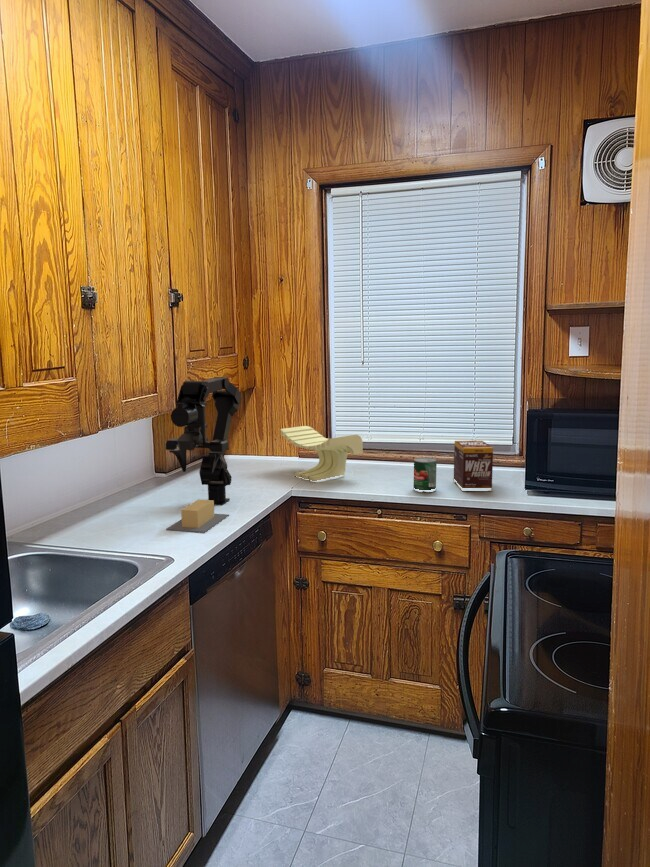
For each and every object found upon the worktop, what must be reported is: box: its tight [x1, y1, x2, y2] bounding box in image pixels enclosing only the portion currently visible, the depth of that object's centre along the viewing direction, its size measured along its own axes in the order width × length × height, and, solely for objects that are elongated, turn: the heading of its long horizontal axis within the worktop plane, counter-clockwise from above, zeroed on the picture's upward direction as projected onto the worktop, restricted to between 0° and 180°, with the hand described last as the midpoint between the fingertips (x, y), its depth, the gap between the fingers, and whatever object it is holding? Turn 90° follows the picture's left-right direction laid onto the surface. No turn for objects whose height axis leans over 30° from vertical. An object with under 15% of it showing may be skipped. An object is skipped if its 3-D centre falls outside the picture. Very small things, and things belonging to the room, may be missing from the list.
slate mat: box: [165, 513, 230, 534], centre depth 185 cm, size 17×12×1 cm
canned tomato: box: [413, 456, 437, 490], centre depth 220 cm, size 8×8×11 cm
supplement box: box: [453, 440, 494, 489], centre depth 224 cm, size 10×15×16 cm
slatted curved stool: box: [280, 425, 364, 481], centre depth 241 cm, size 30×16×18 cm, turn 40°
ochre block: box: [180, 499, 215, 528], centre depth 184 cm, size 5×5×12 cm
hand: (198, 472), depth 192 cm, fingers open, 9 cm apart
